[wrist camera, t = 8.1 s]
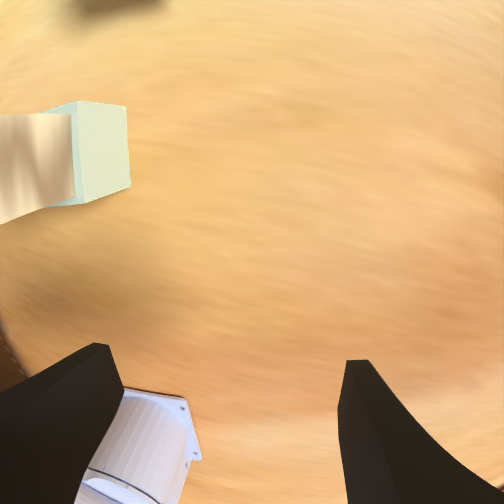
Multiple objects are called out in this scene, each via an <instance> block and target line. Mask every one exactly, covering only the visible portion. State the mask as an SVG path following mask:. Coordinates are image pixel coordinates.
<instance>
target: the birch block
mask: <svg viewBox="0 0 504 504" xmlns="http://www.w3.org/2000/svg"><path fill="white" fill-rule="evenodd" d="M75 196H76V191H75V181H74V169H73V153H72V124H71V114H4V115H0V224H3V223H6V222H8V221H11V220H13V219H15V218H18V217H20V216H23V215H26V214H28V213H31V212H33V211H36V210H39V209H41V208H44V207H47V206H49V205H52V204H55V203H58V202H61V201H63V200H66V199H69V198H72V197H75Z"/></svg>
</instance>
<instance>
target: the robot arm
mask: <svg viewBox="0 0 504 504" xmlns="http://www.w3.org/2000/svg"><path fill="white" fill-rule="evenodd" d="M337 410H338V435H339V444H340V451H341V457H342V464H343V470H344V477H345V484H346V491H347V499H348V504H504V492H502V491H501V490H499V489H497V488H495V487H494V486H492V485H491V484H489V483H488V482H486V481H485V480H483V479H482V478H480V477H479V476H477V475H476V474H475V473H473V472H472V471H470V470H469V469H467V468H466V467H465V466H464V465H462V464H461V463H460V462H459V461H457V460H456V459H455V458H454V457H453V456H451V455H450V454H449V453H448V452H447V451H446V450H445V449H444V448H442V447H441V446H440V445H439V444H438V443H437V442H436V441H435V440H434V439H433V438H432V437H431V436H430V435H429V434H428V433H427V432H426V430H425V429H424V428H423V427H422V426H421V425H420V424H419V423H418V422H417V421H416V420H415V418H414V417H413V416H412V415H411V414H410V413H409V411H408V410H407V409H406V408H405V407H404V405H403V404H402V403H401V402H400V401H399V399H398V398H397V397H396V396H395V394H394V393H393V392H392V391H391V389H390V388H389V387H388V385H387V384H386V383H385V381H384V380H383V379H382V377H381V376H380V375H379V373H378V372H377V371H376V369H375V368H374V367H373V365H372V364H371V363H370V361H369V360H347V362H346V368H345V373H344V379H343V384H342V389H341V394H340V399H339V404H338V409H337ZM191 460H197V461H200V460H202V454H201V451H200V447H199V444H198V440H197V437H196V433H195V429H194V426H193V422H192V418H191V414H190V410H189V406H188V402H187V401H186V400H185V399H184V398H181V397H174V396H167V395H161V394H155V393H149V392H143V391H138V390H133V389H127V388H124V387H123V385H122V382H121V379H120V377H119V374H118V371H117V368H116V365H115V362H114V359H113V356H112V353H111V350H110V347H109V345H106V344H100V343H92V344H90V345H88V346H86V347H84V348H82V349H80V350H78V351H76V352H75V353H73V354H71V355H69V356H68V357H66V358H64V359H62V360H61V361H59V362H57V363H55V364H54V365H52V366H50V367H48V368H47V369H45V370H43V371H42V372H40V373H38V374H36V375H34V376H32V377H30V378H28V379H26V380H25V381H23V382H21V383H19V384H17V385H15V386H13V387H11V388H9V389H6V390H4V391H2V392H0V504H177V503H178V501H179V498H180V495H181V492H182V489H183V486H184V482H185V479H186V476H187V473H188V470H189V467H190V463H191Z"/></svg>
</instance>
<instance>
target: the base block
mask: <svg viewBox="0 0 504 504" xmlns="http://www.w3.org/2000/svg"><path fill="white" fill-rule="evenodd" d="M38 114H71V124H72V153H73V169H74V181H75V191H76V196H75V197H72V198H69V199H66V200H63V201H61V202H58V203H55V204H52V205H49V206H47V207H56V206H65V205H75V204H85V203H88V202H90V201H93V200H96V199H98V198H101V197H104V196H107V195H109V194H112V193H115V192H118V191H121V190H124V189H126V188H129V187H131V179H130V168H129V155H128V139H127V119H126V106H119V105H112V104H105V103H97V102H88V101H78V100H77V101H74V102H70V103H67V104H64V105H61V106H58V107H55V108H52V109H50V110H47V111H44V112H41V113H38ZM47 207H44V208H47Z"/></svg>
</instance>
